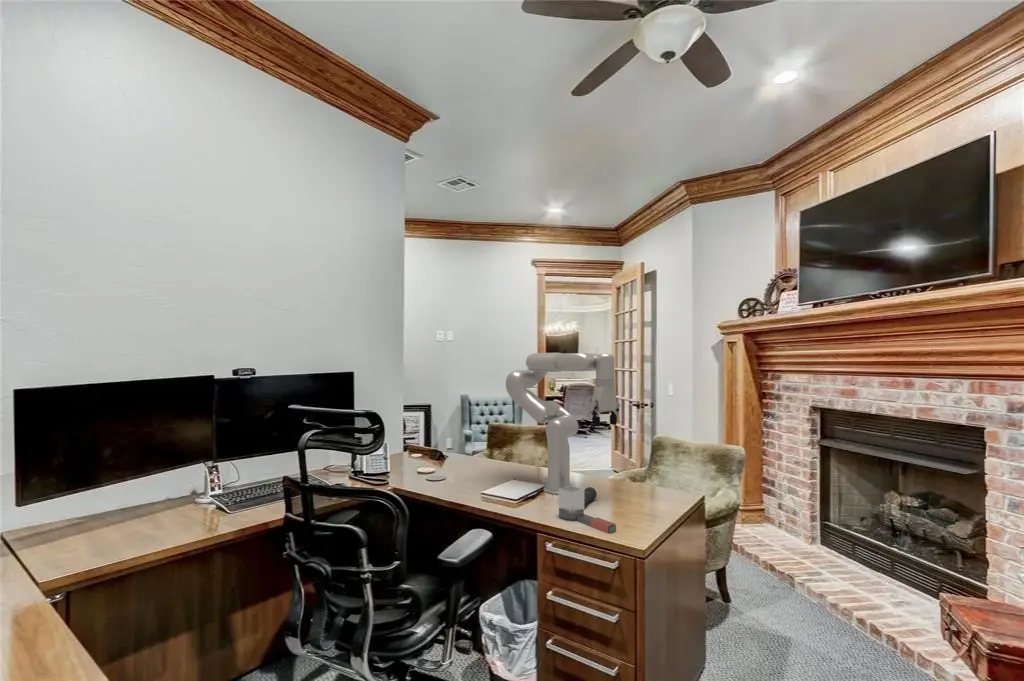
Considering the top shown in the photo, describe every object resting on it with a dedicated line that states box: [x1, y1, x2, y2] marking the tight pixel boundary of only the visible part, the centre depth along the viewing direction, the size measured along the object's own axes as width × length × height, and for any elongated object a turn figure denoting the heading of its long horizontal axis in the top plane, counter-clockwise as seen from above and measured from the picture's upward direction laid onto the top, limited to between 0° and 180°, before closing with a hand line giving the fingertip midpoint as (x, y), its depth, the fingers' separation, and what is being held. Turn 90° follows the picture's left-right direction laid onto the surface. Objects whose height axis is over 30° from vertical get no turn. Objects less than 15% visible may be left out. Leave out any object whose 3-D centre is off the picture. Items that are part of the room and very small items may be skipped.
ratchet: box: [558, 508, 617, 534], centre depth 170 cm, size 24×9×7 cm, turn 38°
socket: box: [557, 485, 585, 513], centre depth 176 cm, size 7×7×7 cm
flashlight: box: [584, 486, 598, 507], centre depth 192 cm, size 15×5×5 cm, turn 150°
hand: (605, 425), depth 199 cm, fingers open, 9 cm apart
